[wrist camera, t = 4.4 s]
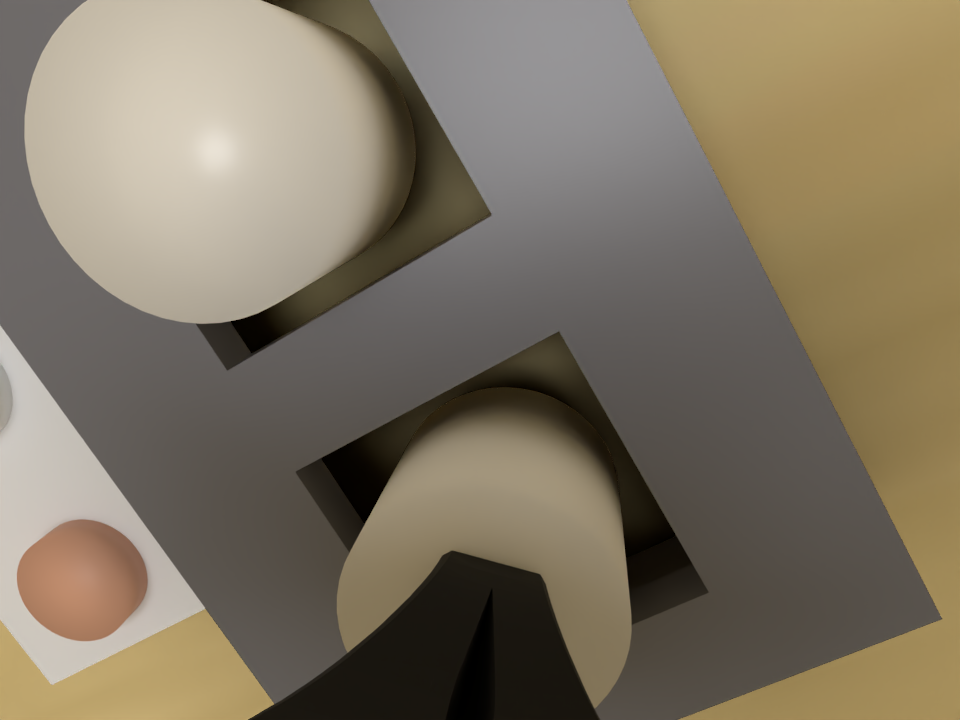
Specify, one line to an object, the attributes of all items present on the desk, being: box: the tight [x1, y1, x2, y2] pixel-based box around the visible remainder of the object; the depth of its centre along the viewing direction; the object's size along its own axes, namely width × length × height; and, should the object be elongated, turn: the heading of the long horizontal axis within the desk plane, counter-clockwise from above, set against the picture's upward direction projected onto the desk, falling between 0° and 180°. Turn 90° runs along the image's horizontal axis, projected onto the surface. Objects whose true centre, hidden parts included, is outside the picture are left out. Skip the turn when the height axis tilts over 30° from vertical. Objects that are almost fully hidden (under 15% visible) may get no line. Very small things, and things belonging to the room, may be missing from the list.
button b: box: [24, 0, 416, 324], centre depth 11 cm, size 4×4×4 cm
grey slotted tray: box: [0, 0, 942, 720], centre depth 14 cm, size 23×11×4 cm, turn 31°
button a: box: [337, 387, 632, 709], centre depth 13 cm, size 4×4×4 cm
